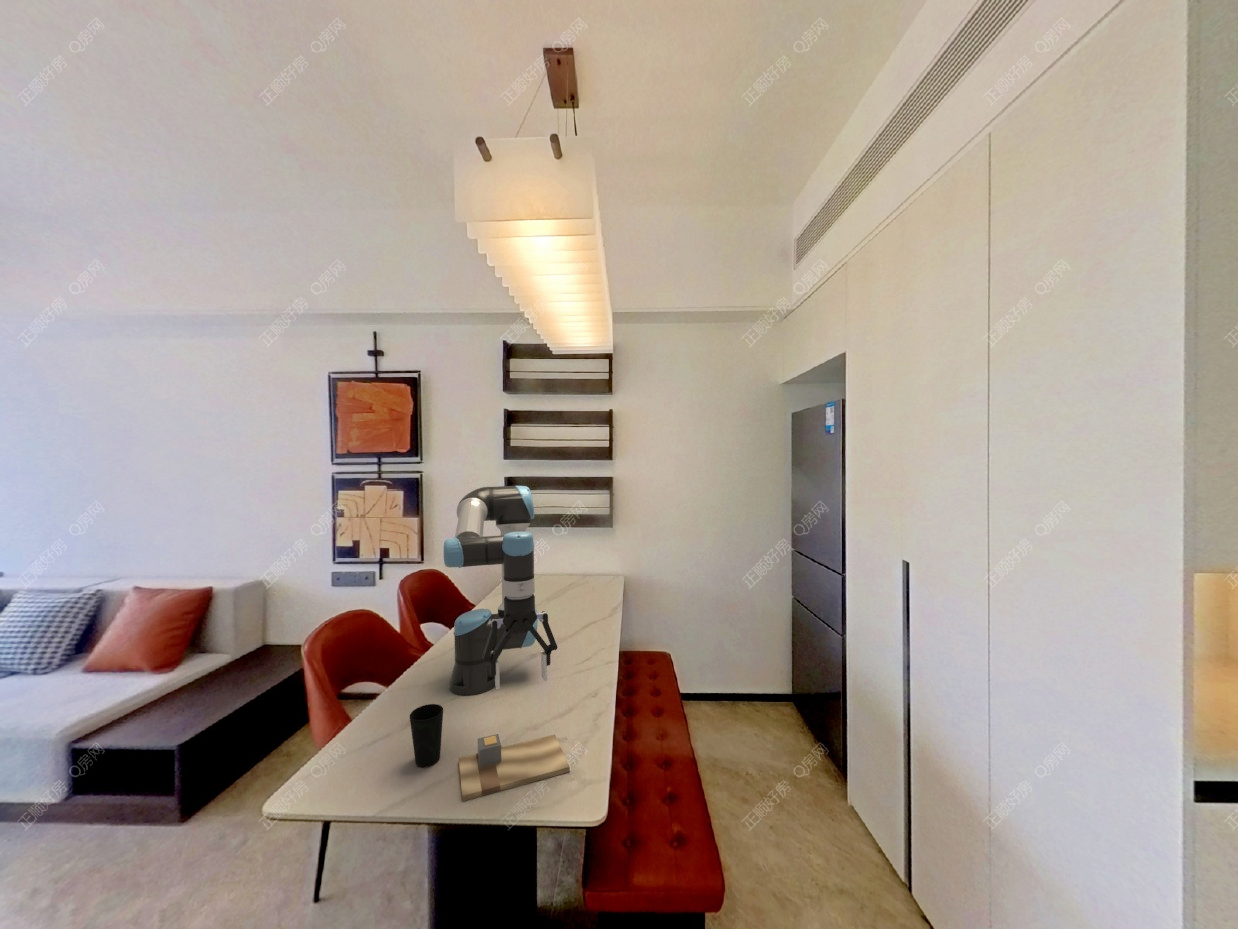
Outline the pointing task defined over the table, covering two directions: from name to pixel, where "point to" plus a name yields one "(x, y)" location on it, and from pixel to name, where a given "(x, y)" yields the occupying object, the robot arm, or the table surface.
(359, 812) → the table surface
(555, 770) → the panel
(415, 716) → the cup
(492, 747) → the grey block
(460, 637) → the robot arm
